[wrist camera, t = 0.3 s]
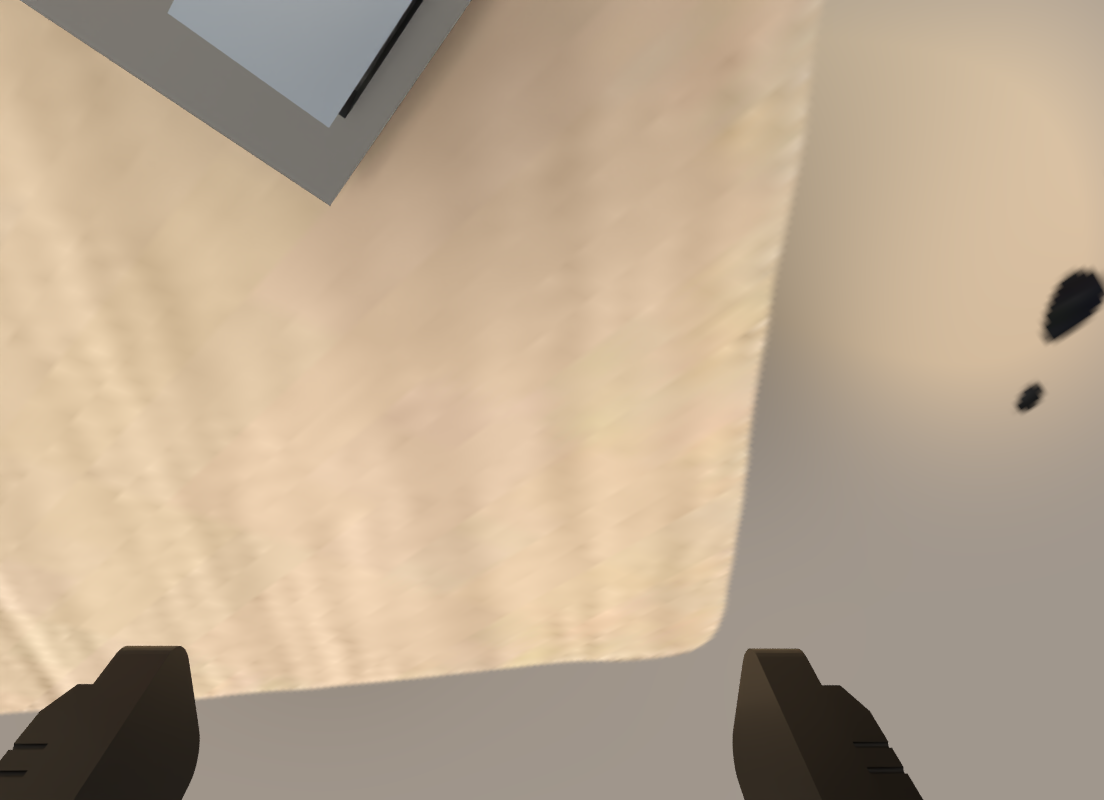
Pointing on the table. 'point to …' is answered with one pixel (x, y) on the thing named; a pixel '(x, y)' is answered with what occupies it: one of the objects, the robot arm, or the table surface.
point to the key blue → (298, 43)
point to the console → (260, 82)
